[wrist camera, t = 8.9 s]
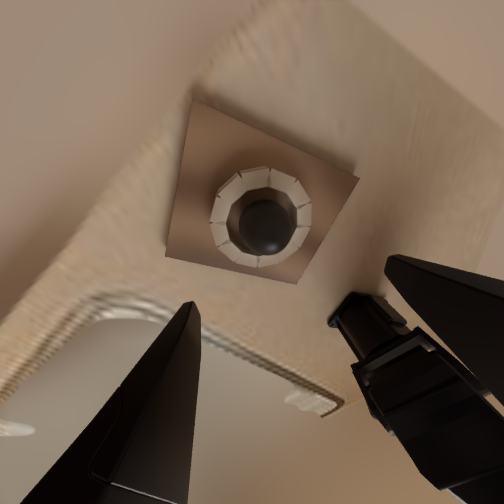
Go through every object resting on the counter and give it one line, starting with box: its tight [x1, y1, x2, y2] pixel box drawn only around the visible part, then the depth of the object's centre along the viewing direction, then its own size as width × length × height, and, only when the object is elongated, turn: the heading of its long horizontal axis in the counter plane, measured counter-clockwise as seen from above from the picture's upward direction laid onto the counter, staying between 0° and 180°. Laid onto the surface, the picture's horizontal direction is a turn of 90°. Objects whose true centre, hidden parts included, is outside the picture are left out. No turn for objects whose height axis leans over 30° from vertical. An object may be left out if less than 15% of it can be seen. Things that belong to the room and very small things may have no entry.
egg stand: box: [165, 99, 360, 285], centre depth 16 cm, size 12×14×2 cm
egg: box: [239, 199, 292, 256], centre depth 14 cm, size 4×4×5 cm
